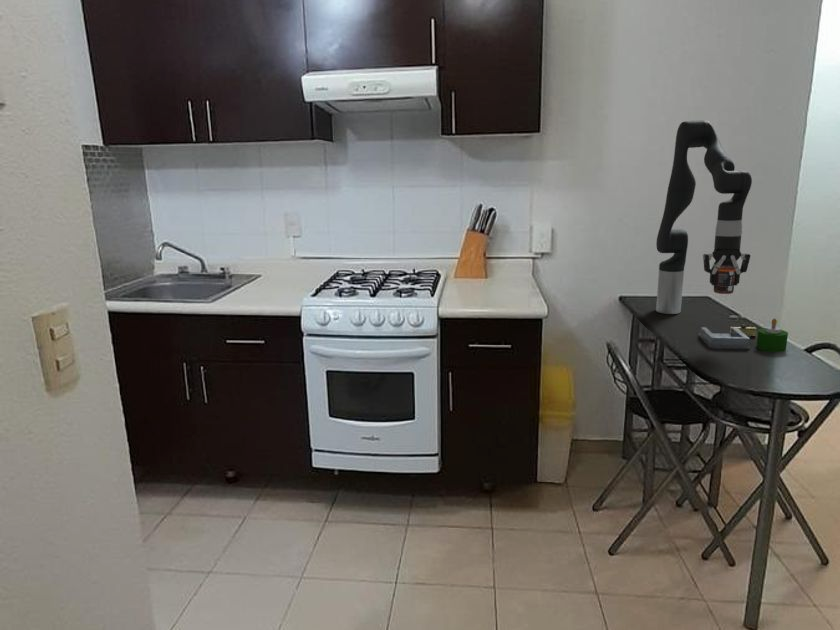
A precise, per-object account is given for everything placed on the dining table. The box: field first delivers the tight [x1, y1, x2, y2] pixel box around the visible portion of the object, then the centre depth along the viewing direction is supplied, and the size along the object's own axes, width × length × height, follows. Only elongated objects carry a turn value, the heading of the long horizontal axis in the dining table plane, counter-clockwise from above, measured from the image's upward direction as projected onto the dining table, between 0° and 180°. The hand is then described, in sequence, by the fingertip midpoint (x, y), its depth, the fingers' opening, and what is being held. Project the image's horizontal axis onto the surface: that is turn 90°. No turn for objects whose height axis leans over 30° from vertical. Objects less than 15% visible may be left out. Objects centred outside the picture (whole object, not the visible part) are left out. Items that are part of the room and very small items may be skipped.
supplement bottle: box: [713, 259, 735, 295], centre depth 193 cm, size 6×6×11 cm
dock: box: [698, 326, 751, 350], centre depth 197 cm, size 14×12×4 cm
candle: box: [756, 317, 789, 353], centre depth 189 cm, size 8×8×10 cm
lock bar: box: [729, 323, 758, 338], centre depth 203 cm, size 2×8×4 cm, turn 79°
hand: (723, 284), depth 193 cm, fingers closed on supplement bottle, 6 cm apart
